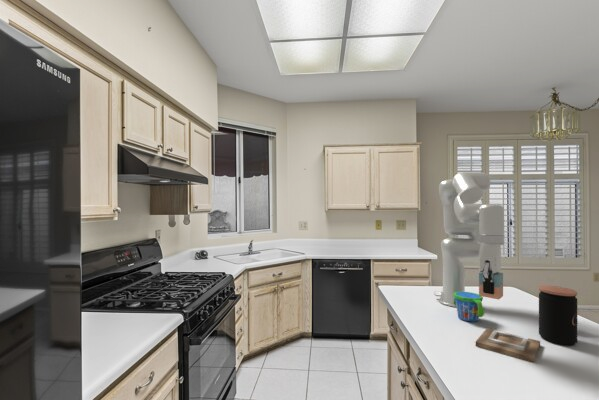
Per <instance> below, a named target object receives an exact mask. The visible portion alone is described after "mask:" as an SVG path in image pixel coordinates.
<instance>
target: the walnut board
mask: <svg viewBox="0 0 599 400" xmlns="http://www.w3.org/2000/svg"><path fill="white" fill-rule="evenodd" d="M475 347H478V348H481V349H485V350H488V351H492V352H495V353H498V354H502V355H506V356H509V357H513V358H516V359H519V360H523V361H527V362H530V363H535V362H536V359H537V356H538V353H539V350H540V348H541V340H538V339H533V338H529V337H525V336H520V335H516V334H512V333H508V332H504V331H501V330H497V329H492V328H488V327H487V328H485V330H484V331H483V332H482V333H481V335H480V336H479V337H478V338H477V339H476V341H475Z"/></svg>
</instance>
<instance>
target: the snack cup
mask: <svg viewBox="0 0 599 400" xmlns="http://www.w3.org/2000/svg"><path fill="white" fill-rule="evenodd" d="M454 297H455V298H454V305H456V307H455V308H456V313H457V317H458V319H460V320H462V321H464V322H477V321H478V320H479V319H480V318H482V317H484V316H485V311H484V310H485V309H484V307H483V303H482V301H483V299H484V297H483V296H479V293H474V292H470V291H465V292H455V293H454Z"/></svg>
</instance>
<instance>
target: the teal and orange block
mask: <svg viewBox="0 0 599 400" xmlns="http://www.w3.org/2000/svg"><path fill="white" fill-rule="evenodd" d="M489 273H492V272H490V271H489ZM483 276H484V274H483V272H480V271H479V272H478V294H479V296H482V297H483V298H489V299H493V300H494V299H495V300H500V299H501V298H503V296H504V273H503V272H501V271H499V272H497V273H495V274H494V275H493V282H494V294H488V293H484V292H483ZM490 276H491V275H490Z"/></svg>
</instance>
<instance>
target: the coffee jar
mask: <svg viewBox="0 0 599 400" xmlns="http://www.w3.org/2000/svg"><path fill="white" fill-rule="evenodd" d="M538 291H539V293H538V335H539V337H540V338H541V339H542V340H544V341H546V342H549V343H552V344H555V345H559V346H565V347H571V346H572V347H573V346H575V345H576V344H577V343H578V297H577V296H578V291H577V290H574V289H572V288H567V287H562V286H559V285H558V286H555V285H539V287H538Z"/></svg>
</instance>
